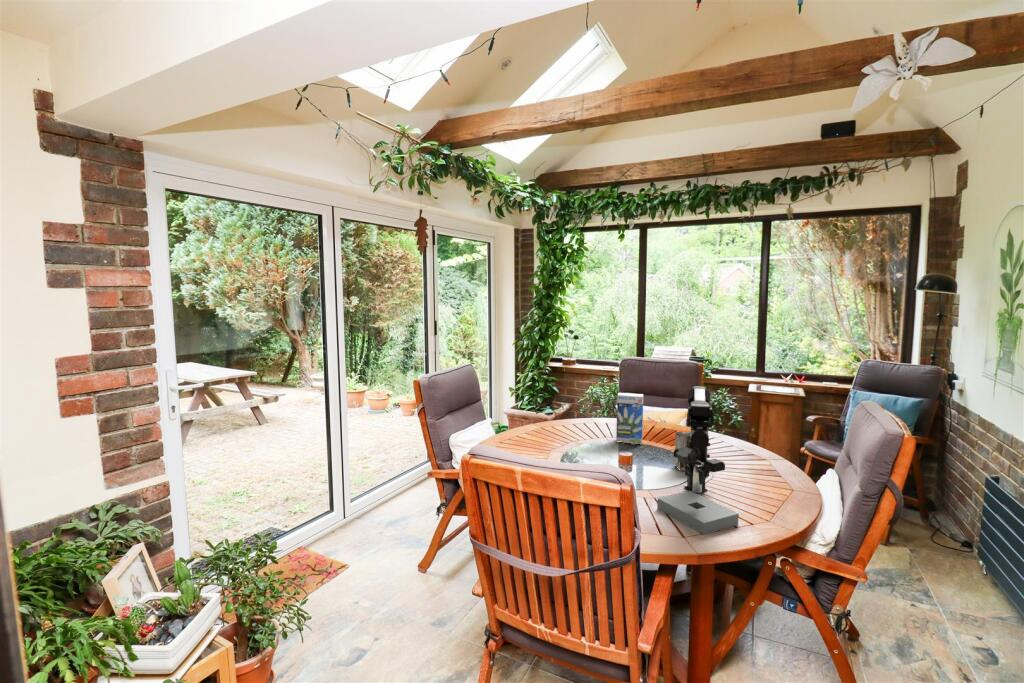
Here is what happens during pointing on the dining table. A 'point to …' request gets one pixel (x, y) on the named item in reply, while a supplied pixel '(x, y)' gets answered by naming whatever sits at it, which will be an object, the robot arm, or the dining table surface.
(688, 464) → the robot arm
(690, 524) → the hole block
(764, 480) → the dining table surface
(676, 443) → the coffee box
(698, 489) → the steel peg
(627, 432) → the string lights box
